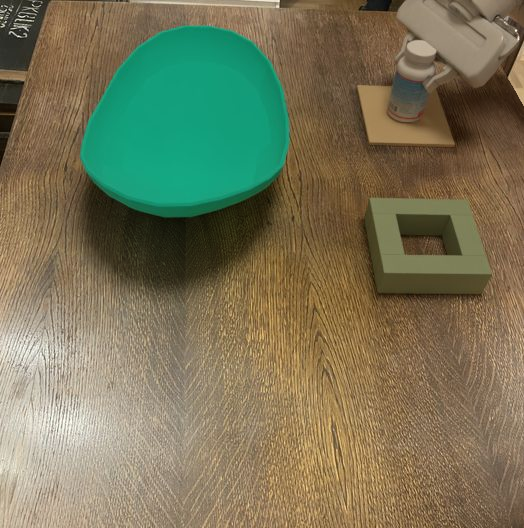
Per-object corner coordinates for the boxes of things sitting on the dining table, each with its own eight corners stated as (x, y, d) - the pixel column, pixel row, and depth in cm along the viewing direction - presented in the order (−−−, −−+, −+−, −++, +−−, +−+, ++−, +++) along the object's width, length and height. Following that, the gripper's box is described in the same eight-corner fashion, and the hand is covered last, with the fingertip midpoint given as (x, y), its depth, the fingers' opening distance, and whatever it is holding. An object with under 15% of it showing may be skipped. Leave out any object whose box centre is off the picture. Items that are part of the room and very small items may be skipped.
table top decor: (272, 295, 78) (280, 218, 67) (60, 271, 78) (34, 191, 68) (293, 113, 101) (301, 34, 90) (128, 96, 101) (117, 15, 90)
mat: (434, 90, 107) (435, 87, 107) (453, 147, 98) (455, 144, 97) (356, 88, 106) (357, 84, 106) (368, 145, 97) (369, 142, 97)
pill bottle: (425, 124, 100) (445, 59, 91) (388, 123, 100) (405, 57, 90) (419, 103, 103) (438, 38, 94) (383, 102, 103) (399, 36, 94)
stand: (458, 220, 88) (467, 199, 85) (481, 294, 80) (492, 274, 77) (363, 218, 87) (369, 197, 84) (377, 293, 79) (384, 272, 76)
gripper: (532, 47, 89) (458, 122, 93) (446, -15, 98) (383, 55, 103) (521, 22, 84) (444, 102, 88) (432, -41, 93) (367, 34, 98)
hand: (410, 76), depth 96 cm, fingers closed on pill bottle, 6 cm apart
